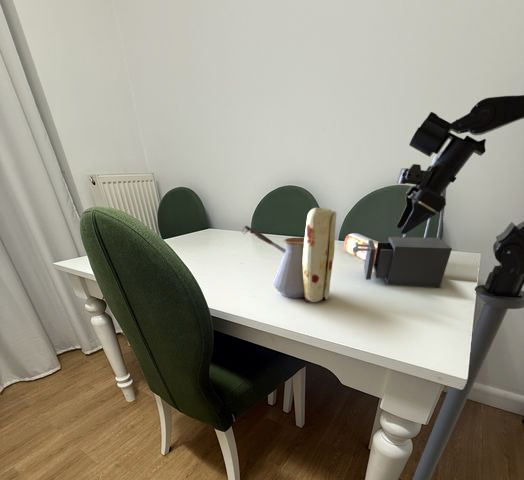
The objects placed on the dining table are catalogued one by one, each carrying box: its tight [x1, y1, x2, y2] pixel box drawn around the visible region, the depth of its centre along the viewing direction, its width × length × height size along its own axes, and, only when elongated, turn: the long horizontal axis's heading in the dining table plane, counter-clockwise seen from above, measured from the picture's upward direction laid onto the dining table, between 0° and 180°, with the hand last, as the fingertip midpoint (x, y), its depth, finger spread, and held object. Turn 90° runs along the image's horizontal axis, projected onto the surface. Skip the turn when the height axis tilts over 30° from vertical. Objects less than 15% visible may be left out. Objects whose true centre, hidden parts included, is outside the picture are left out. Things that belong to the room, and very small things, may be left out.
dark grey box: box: [384, 236, 453, 289], centre depth 79 cm, size 13×13×10 cm
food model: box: [302, 207, 338, 303], centre depth 65 cm, size 10×7×20 cm
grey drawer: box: [352, 239, 394, 280], centre depth 81 cm, size 16×12×8 cm
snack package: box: [343, 232, 379, 267], centre depth 98 cm, size 21×7×7 cm, turn 12°
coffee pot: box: [241, 225, 305, 299], centre depth 73 cm, size 21×12×15 cm, turn 56°
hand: (400, 230), depth 76 cm, fingers open, 9 cm apart
